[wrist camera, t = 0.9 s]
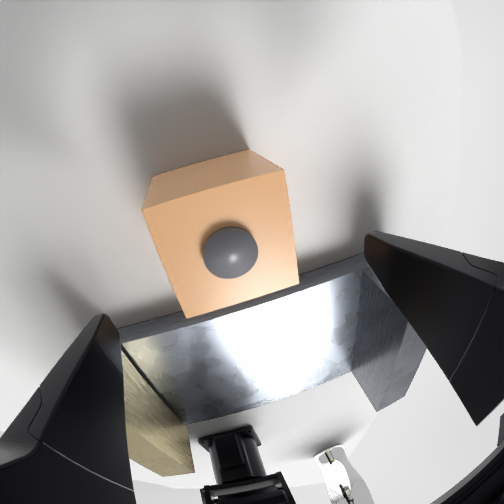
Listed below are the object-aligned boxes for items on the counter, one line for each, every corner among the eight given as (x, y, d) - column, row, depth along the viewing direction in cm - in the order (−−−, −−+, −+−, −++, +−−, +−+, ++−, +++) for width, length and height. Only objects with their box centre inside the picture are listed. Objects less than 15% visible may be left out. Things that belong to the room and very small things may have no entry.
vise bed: (370, 348, 25) (404, 396, 20) (156, 416, 23) (162, 476, 17) (383, 245, 19) (444, 297, 13) (86, 336, 16) (71, 417, 11)
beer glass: (312, 453, 40) (341, 518, 27) (347, 439, 41) (379, 501, 28) (311, 462, 43) (336, 520, 30) (342, 449, 44) (370, 505, 31)
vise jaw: (187, 427, 21) (195, 472, 17) (157, 432, 21) (162, 476, 17) (119, 347, 15) (114, 413, 11) (82, 355, 15) (71, 417, 11)
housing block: (265, 234, 16) (302, 287, 12) (181, 259, 16) (187, 323, 11) (249, 149, 14) (287, 171, 9) (152, 176, 13) (140, 213, 9)
